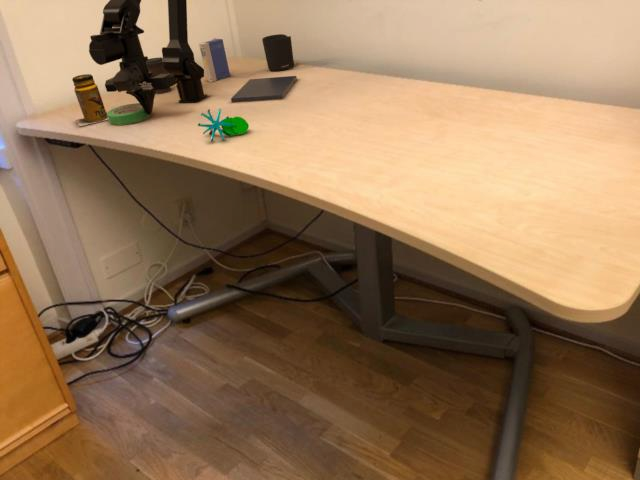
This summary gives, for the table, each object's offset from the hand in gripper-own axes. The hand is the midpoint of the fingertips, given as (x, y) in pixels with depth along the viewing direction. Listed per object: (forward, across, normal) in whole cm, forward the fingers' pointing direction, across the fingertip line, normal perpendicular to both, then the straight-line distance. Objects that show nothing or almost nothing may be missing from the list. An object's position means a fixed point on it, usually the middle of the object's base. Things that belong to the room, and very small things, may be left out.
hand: (150, 114), depth 160 cm
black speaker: (+1, +18, +52) cm, 55 cm away
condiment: (+1, -18, -1) cm, 18 cm away
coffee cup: (+1, -13, +27) cm, 30 cm away
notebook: (+1, +24, +25) cm, 34 cm away
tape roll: (+1, -7, 0) cm, 7 cm away
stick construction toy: (+2, +30, -14) cm, 33 cm away
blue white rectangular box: (+1, 0, +41) cm, 41 cm away
